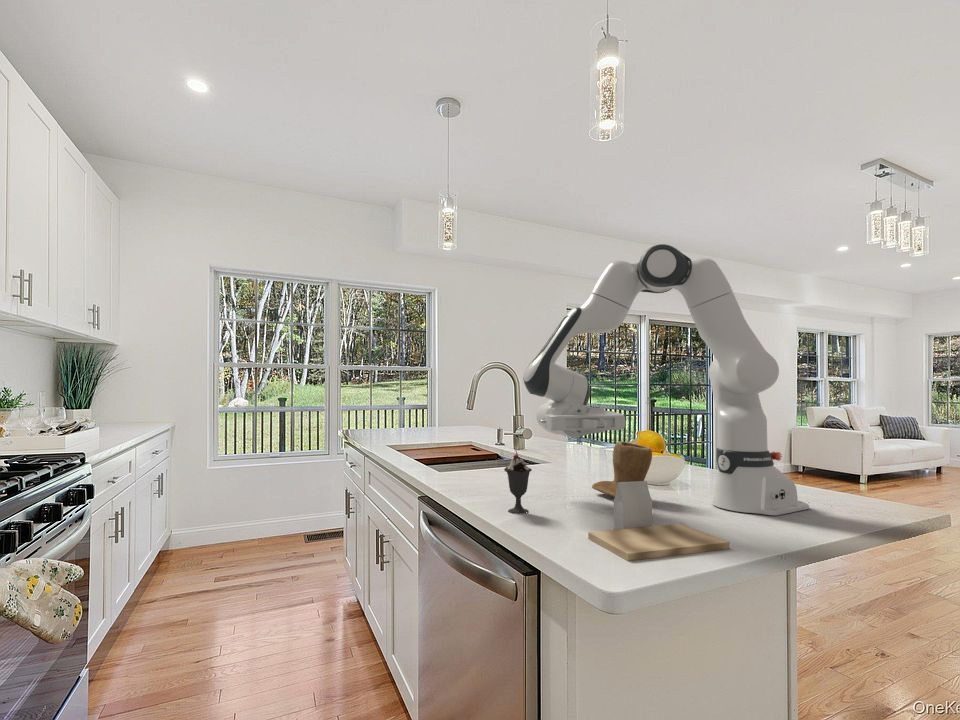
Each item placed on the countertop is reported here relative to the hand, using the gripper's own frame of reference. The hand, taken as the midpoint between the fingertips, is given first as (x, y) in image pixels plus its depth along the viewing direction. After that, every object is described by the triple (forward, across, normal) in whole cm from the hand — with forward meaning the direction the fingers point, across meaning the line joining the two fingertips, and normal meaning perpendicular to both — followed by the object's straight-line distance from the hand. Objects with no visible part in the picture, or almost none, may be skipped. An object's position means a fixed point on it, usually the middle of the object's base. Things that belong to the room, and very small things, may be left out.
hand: (601, 424), depth 121 cm
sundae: (-10, -17, +22) cm, 29 cm away
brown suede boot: (-15, +16, +21) cm, 31 cm away
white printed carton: (+12, 0, +21) cm, 25 cm away
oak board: (+22, -1, +21) cm, 30 cm away
